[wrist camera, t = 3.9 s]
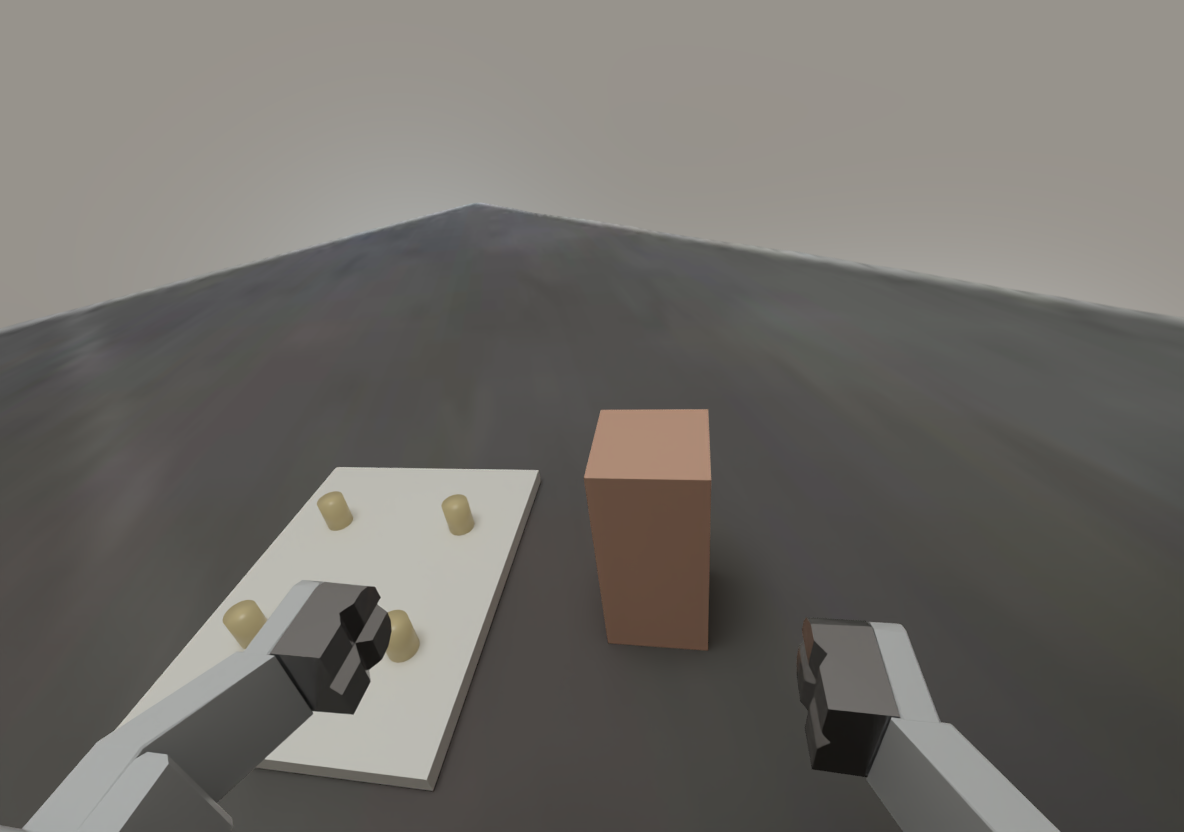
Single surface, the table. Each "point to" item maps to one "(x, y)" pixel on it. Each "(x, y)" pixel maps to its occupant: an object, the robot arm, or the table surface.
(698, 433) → the terracotta block
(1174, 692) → the table surface
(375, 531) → the mounting plate
